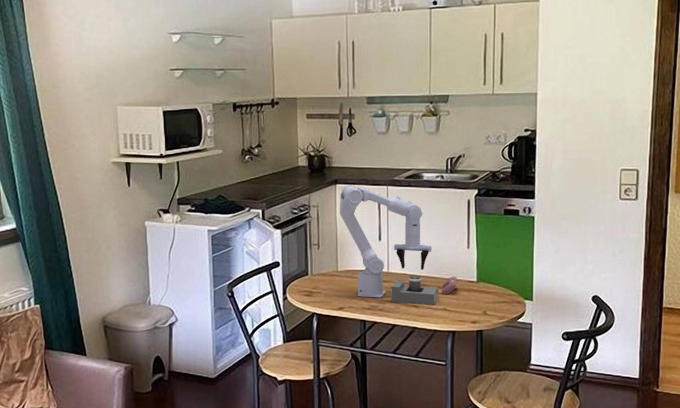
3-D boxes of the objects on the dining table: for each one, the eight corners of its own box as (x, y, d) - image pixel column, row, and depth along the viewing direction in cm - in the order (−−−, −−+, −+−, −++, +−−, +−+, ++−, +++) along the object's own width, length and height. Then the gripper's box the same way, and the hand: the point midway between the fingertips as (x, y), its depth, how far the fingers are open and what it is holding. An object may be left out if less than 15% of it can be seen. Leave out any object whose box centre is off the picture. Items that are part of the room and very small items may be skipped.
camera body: (391, 302, 263) (391, 286, 262) (397, 294, 272) (397, 279, 271) (434, 304, 258) (434, 289, 257) (437, 297, 268) (438, 282, 267)
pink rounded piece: (451, 298, 271) (459, 283, 270) (440, 293, 272) (448, 277, 270) (451, 291, 281) (459, 276, 279) (441, 286, 281) (449, 271, 280)
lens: (407, 298, 263) (407, 278, 262) (409, 295, 268) (409, 275, 266) (420, 299, 262) (420, 278, 261) (421, 296, 266) (422, 275, 265)
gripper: (392, 235, 271) (392, 269, 273) (429, 237, 266) (429, 272, 269) (396, 232, 277) (396, 265, 279) (432, 233, 273) (432, 267, 275)
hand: (412, 268), depth 274 cm, fingers open, 7 cm apart
